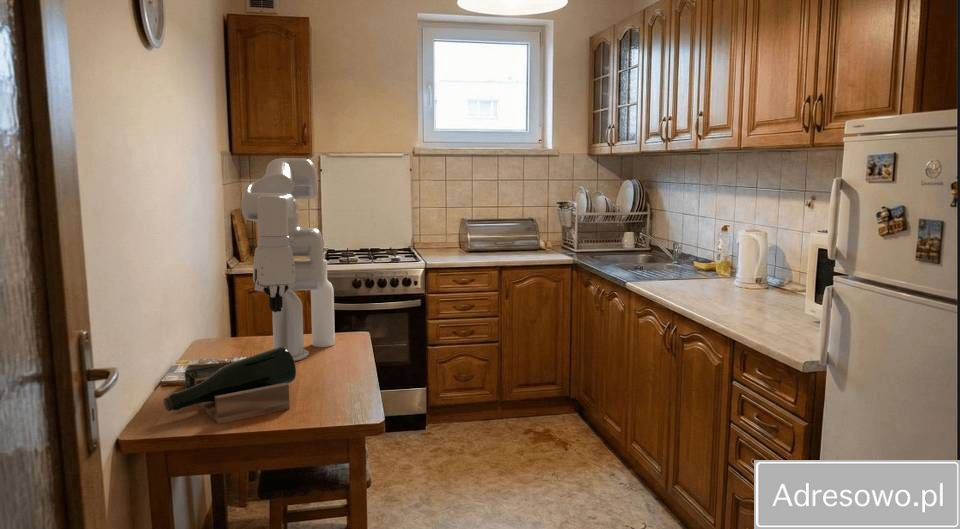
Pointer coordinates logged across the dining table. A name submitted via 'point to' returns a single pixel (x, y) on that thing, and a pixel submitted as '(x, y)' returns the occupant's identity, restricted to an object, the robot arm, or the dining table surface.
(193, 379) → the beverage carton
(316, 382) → the dining table surface
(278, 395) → the cradle
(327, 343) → the bottle
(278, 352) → the beer bottle
